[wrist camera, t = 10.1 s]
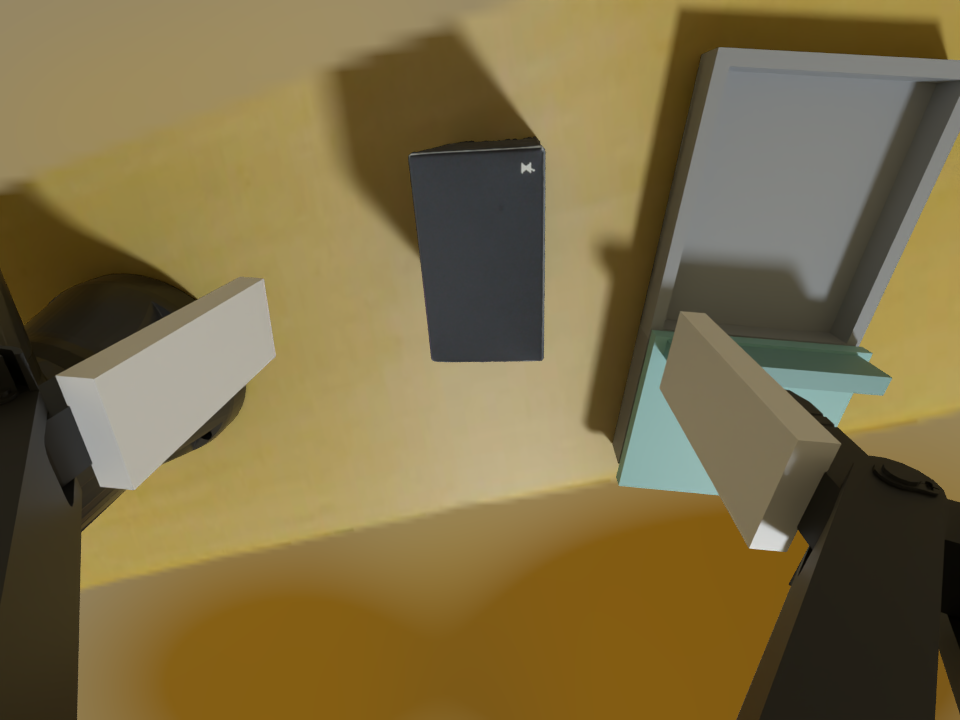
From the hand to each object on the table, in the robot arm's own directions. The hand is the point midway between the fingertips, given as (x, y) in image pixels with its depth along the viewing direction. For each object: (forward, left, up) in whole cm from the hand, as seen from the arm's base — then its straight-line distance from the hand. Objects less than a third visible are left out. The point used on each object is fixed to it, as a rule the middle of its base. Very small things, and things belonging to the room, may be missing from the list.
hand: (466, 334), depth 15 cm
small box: (0, 0, -19) cm, 19 cm away
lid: (+18, -12, -16) cm, 27 cm away
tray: (+18, -3, -19) cm, 26 cm away
